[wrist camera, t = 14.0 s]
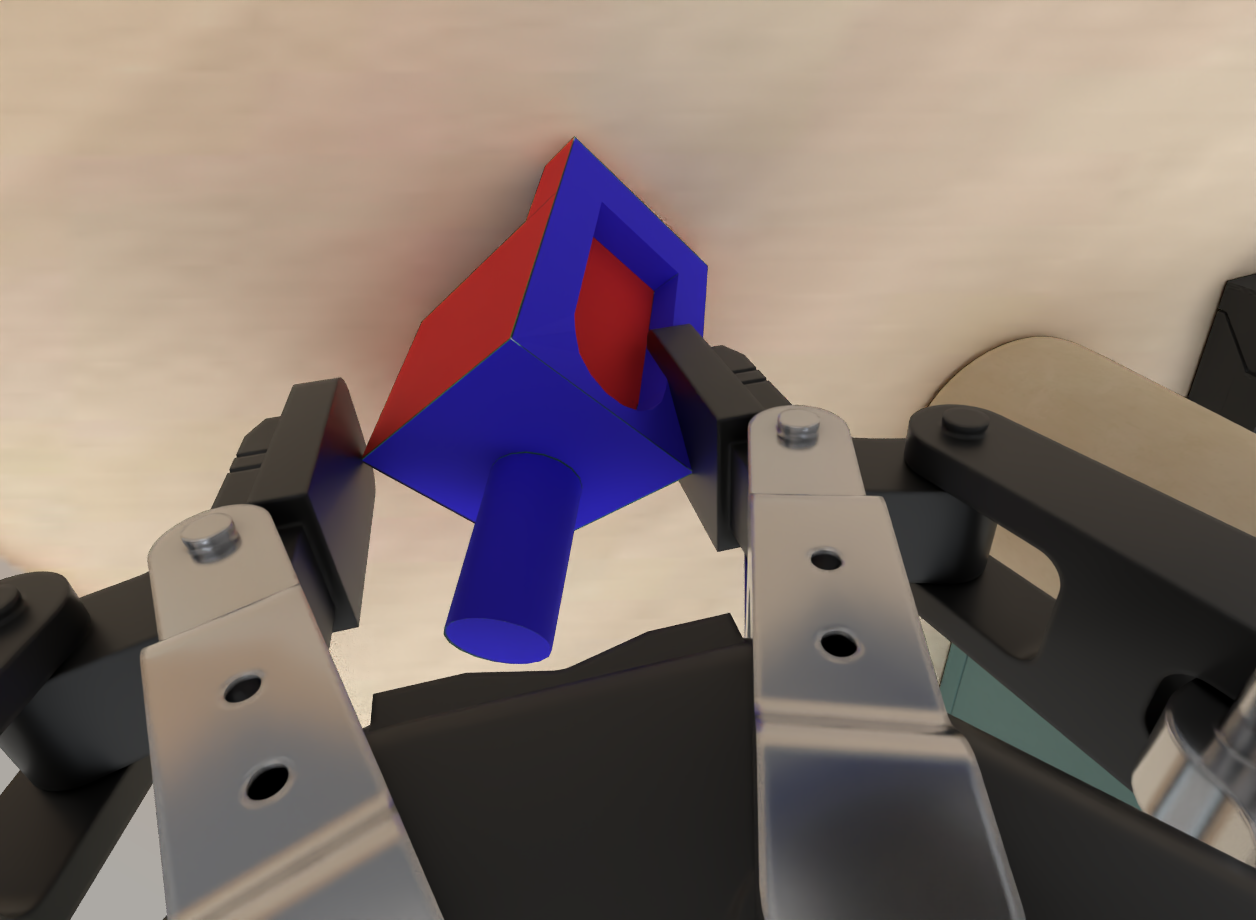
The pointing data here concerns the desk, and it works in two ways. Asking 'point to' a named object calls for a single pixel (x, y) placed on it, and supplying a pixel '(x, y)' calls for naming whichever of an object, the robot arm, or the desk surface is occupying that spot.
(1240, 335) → the vhs tape
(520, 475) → the toy building block
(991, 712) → the teal open box
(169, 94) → the desk surface
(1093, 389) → the candle
